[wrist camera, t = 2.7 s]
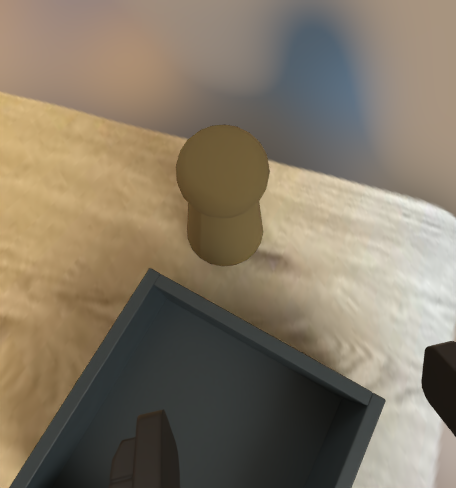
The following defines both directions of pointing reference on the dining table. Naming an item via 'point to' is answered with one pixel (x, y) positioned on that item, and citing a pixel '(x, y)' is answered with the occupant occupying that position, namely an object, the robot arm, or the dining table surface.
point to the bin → (206, 402)
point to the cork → (223, 192)
